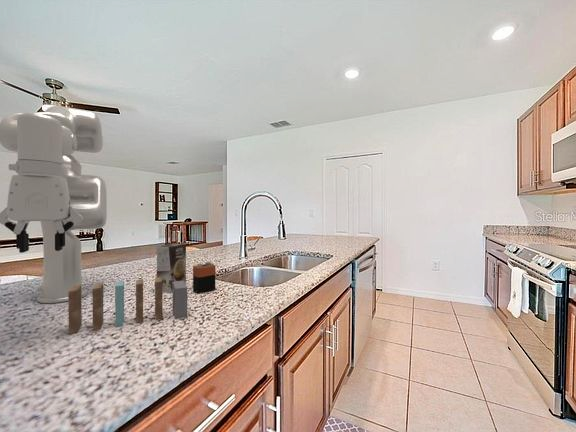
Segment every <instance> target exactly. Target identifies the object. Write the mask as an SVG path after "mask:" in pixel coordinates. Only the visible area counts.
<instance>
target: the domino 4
mask: <svg viewBox="0 0 576 432" xmlns="http://www.w3.org/2000/svg"><path fill="white" fill-rule="evenodd" d="M140 323H144V279H143V278H139V279H136V280H135V324H140Z"/></svg>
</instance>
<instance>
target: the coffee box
mask: <svg viewBox="0 0 576 432" xmlns="http://www.w3.org/2000/svg"><path fill="white" fill-rule="evenodd" d="M159 277H161V278H162V293H163V292H165V293H172V282H175V281H184V282H185V284H186V285H187V243H169V244H162V245H157V246H156V278H159Z"/></svg>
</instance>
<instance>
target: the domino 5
mask: <svg viewBox="0 0 576 432" xmlns="http://www.w3.org/2000/svg"><path fill="white" fill-rule="evenodd" d="M163 297H164V296H163V291H162V278H161V277H159V278H157V277H155V278H154V317H155V321H158V320H163V319H164V317H163V316H164V315H163V311H164V310H163V308H164V307H163Z"/></svg>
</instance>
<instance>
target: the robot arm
mask: <svg viewBox="0 0 576 432" xmlns="http://www.w3.org/2000/svg"><path fill="white" fill-rule="evenodd" d="M103 143H104V141H103V130H102V123H101V121H100V118H99V116H98V114H96V113H95V112H93V111H90V110H85V109H81V108H76V107H75V108H74V107H69V106H62V105H54V106H53V105H52V106H49V107H48V108H47V109H46V110H45V111H40V112H39V111H38V112H18V113H10V114H8V115H6V116H5V117H4V118H2V119H1V120H0V145H1V146H2V147H3V148H4V149H6V150H8V151H11V152H14V153H15V152H16V153H17V160H16V162H15V163H13V164H11V163H9V164H8V170H9V171H14V172H16V174H13V175H12V176H11V179H10V181H9V187H8V193H7V203H6V205H7V206H6V208H5V209H3V210H2V211H0V224H1V225H3V226H5V228H7V229H8V230H10V231H11V232H13V234H14V235H16V236H15V237H16V239H15V242H16V243H15V245H16V249H17V250H18V249H19V250H18V251H19V253H20V254H21V253H26V252H29V251H30V250H29V249H30V241H29V240H30V237H29V233H27V229H28V227H29V225H30V223H31V222H40V225H41V232H42V243H43V244H42V245H43V251H42V252H43V283H42V284H41V285H38V286H37V290H38V291H42V293H41V294H40V295H39V296H37V298H36V300H37V302H38V303H42V304H57V303H63V302H64V303H65V302H68V291H69V290H70V289H71V288H72V287H73V286H79V285H81V297H82V298H83V297H85V296H86V295H88V290H87V289H86V288H82V287H83V286H82V285H83V284H82V283H83V282H82V278H83V277H82V276H83V275H82V242H81V240H80V238H79V237H78V236H76V234H74V233H73V232H72V231H74V230H75V231H77V230H97V229H102V228H103V227H104V226H105V225H106V223H107V219H108V218H107V215H108V214H107V213H108V212H107V205H108V204H107V200H108V199H107V185H106V182H105V180H104V179H103V178H102V177H101V176H99V175H98V176H97V175H90V174H82V169H83V168H82V167H83V166H82V165H81V163H80V161H78V160H77V159H76V158H75V157H74V156H73V154H74V153H75V152H81V153H91V154H93V153H94V154H95V153H99V152H101V151H102V149H103Z"/></svg>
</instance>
